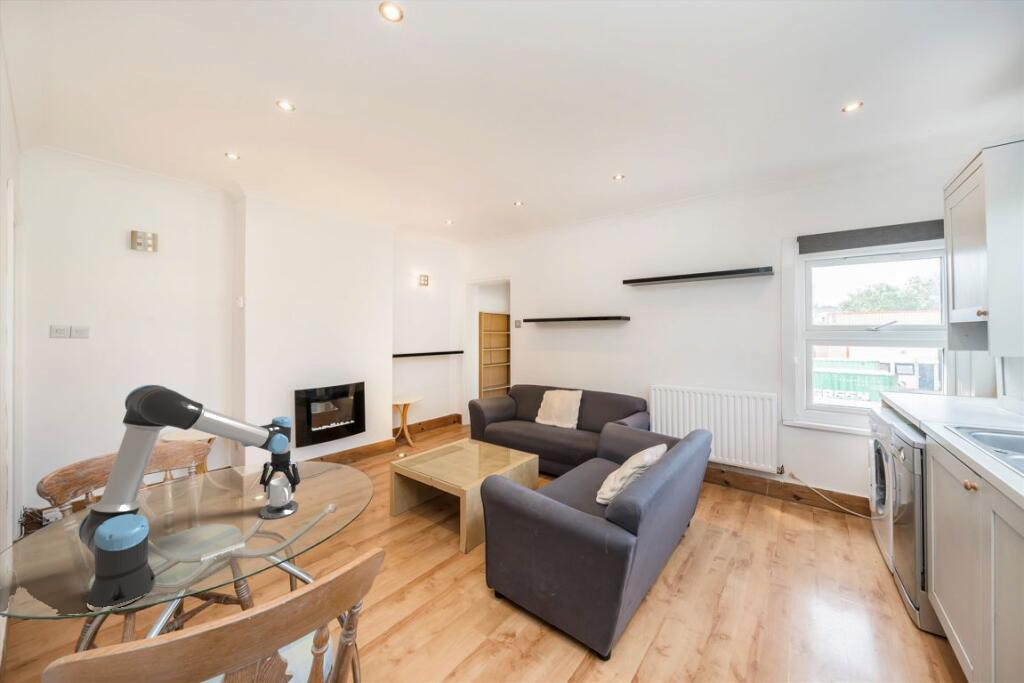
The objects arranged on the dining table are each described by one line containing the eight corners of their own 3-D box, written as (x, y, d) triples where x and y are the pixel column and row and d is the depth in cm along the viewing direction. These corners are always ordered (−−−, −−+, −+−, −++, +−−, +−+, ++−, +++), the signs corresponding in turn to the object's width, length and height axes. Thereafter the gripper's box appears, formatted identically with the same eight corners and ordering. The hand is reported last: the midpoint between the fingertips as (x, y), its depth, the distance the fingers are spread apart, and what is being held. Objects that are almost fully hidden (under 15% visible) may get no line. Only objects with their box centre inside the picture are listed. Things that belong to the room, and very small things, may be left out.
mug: (296, 506, 172) (297, 483, 172) (276, 512, 166) (276, 489, 165) (286, 497, 180) (286, 475, 179) (266, 502, 173) (267, 480, 173)
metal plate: (281, 521, 164) (281, 518, 164) (251, 516, 167) (251, 513, 167) (305, 505, 179) (305, 502, 179) (278, 500, 182) (278, 498, 182)
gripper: (309, 449, 176) (308, 495, 177) (260, 447, 174) (259, 494, 175) (302, 454, 169) (300, 503, 170) (250, 453, 167) (249, 502, 168)
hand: (279, 499), depth 173 cm, fingers closed on mug, 9 cm apart
